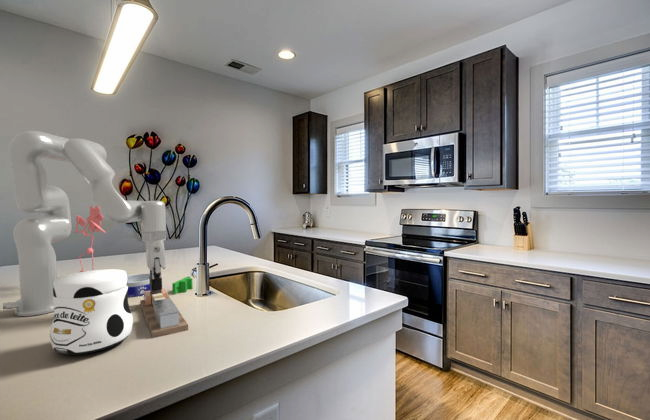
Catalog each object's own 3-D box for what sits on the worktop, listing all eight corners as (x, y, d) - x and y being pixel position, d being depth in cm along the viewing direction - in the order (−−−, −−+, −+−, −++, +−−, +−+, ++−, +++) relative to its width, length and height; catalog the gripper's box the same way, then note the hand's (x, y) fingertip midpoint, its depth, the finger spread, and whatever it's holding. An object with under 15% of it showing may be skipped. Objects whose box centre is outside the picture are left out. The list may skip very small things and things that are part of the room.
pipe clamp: (181, 295, 127) (181, 283, 127) (172, 295, 128) (172, 283, 127) (196, 286, 138) (196, 276, 138) (188, 286, 139) (187, 276, 138)
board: (188, 329, 93) (188, 324, 93) (152, 337, 88) (152, 332, 88) (168, 299, 121) (168, 295, 120) (140, 304, 115) (140, 300, 115)
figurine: (92, 291, 133) (91, 205, 132) (65, 283, 147) (64, 205, 146) (131, 283, 146) (130, 205, 145) (103, 276, 160) (102, 205, 159)
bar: (169, 313, 101) (168, 283, 100) (158, 316, 99) (157, 285, 99) (159, 297, 117) (158, 271, 117) (150, 299, 116) (149, 272, 115)
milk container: (38, 368, 73) (34, 288, 72) (64, 337, 89) (61, 272, 88) (128, 352, 80) (125, 279, 79) (137, 326, 96) (135, 266, 95)
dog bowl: (127, 300, 121) (127, 284, 121) (107, 294, 129) (106, 279, 129) (166, 290, 134) (165, 275, 134) (145, 285, 142) (144, 271, 142)
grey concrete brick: (179, 325, 92) (179, 310, 92) (160, 329, 90) (160, 314, 90) (170, 310, 104) (170, 297, 104) (153, 314, 102) (153, 300, 102)
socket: (168, 301, 114) (167, 292, 114) (146, 305, 110) (145, 296, 110) (164, 296, 120) (164, 288, 120) (143, 300, 116) (143, 291, 116)
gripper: (170, 237, 108) (171, 292, 109) (162, 233, 122) (163, 281, 123) (144, 239, 104) (146, 296, 105) (139, 234, 118) (141, 285, 119)
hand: (155, 288), depth 114 cm, fingers closed on bar, 4 cm apart
